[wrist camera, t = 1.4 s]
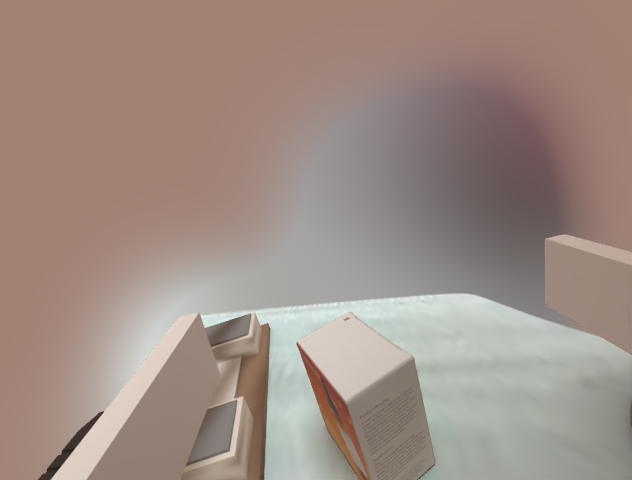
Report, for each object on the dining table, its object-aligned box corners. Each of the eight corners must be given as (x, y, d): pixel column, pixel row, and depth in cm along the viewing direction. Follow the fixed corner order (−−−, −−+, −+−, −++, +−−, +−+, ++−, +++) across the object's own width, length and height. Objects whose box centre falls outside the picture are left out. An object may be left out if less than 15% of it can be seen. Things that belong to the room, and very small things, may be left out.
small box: (327, 431, 28) (293, 339, 24) (374, 397, 30) (349, 308, 26) (381, 516, 21) (343, 403, 17) (438, 464, 22) (414, 354, 19)
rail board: (270, 328, 47) (261, 305, 45) (263, 498, 24) (244, 461, 22) (208, 348, 46) (197, 325, 45) (141, 539, 23) (115, 505, 22)
